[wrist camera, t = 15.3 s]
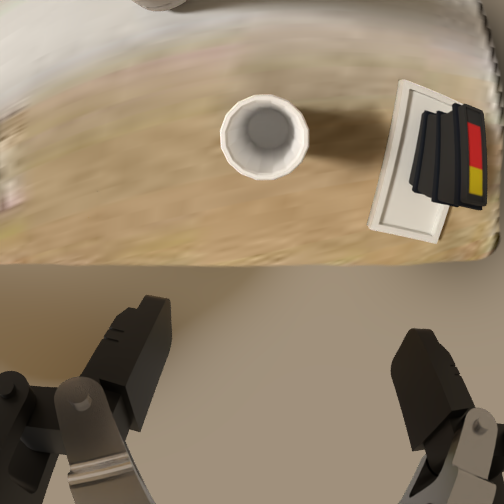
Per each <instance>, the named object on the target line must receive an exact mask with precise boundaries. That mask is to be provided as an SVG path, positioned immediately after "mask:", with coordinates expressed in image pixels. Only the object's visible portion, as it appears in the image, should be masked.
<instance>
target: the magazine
mask: <svg viewBox="0 0 504 504" xmlns="http://www.w3.org/2000/svg"><path fill="white" fill-rule="evenodd" d="M409 184H411V185H412V186H413V187H412V191H413V192H414V193H418V194H423V195H425V196H427V197H429V198H431V202H434V203H439V204H444V205H449V206H454V207H458V206H462V207H466V208H471V209H475V210H482V206H486V204H487V148H486V133H485V122H484V113H483V111H482V110H480V109H477V108H475V107H472V106H470V105H467V104H463V105H460V104H457V103H454V104H452V111H450V112H449V113H445V112H442V111H436V113H433V112H430V111H426V110H424V112H423V113H422V115H421V122H420V128H419V133H418V139H417V144H416V150H415V155H414V159H413V164H412V169H411V173H410V178H409Z"/></svg>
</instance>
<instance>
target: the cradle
mask: <svg viewBox="0 0 504 504" xmlns="http://www.w3.org/2000/svg"><path fill="white" fill-rule="evenodd" d="M454 103H457V104H460V105H463V104H462V103H460V102H458V101H456V100H454V99H451V98H449V97H447V96H445V95H442V94H440V93H438V92H435V91H433V90H431V89H428V88H426V87H423V86H421V85H418V84H415V83H413V82H410V81H407V80H405V79H403V80H399V82H398V89H397V95H396V100H395V106H394V112H393V117H392V122H391V127H390V132H389V137H388V142H387V146H386V151H385V155H384V160H383V164H382V168H381V172H380V177H379V181H378V185H377V188H376V192H375V196H374V200H373V204H372V207H371V211H370V215H369V218H368V222H367V226H368V227H369V228H370V230H375V231H380V232H385V233H390V234H394V235H399V236H404V237H408V238H413V239H417V240H422V241H426V242H431V243H435V244H437V241H438V239H439V236H440V233H441V230H442V227H443V224H444V221H445V218H446V215H447V212H448V209H449V205H444V204H439V203H434V202H431V198H429V197H427V196H425V195H423V194H418V193H414V192H413V191H412V187H413V186H412V185H411V184H409V178H410V173H411V169H412V164H413V159H414V155H415V150H416V144H417V139H418V133H419V128H420V122H421V115H422V113H423V112H424V110H426V111H430V112H433V113H436V111H442V112H445V113H449V112H450V111H452V104H454Z"/></svg>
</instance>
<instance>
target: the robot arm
mask: <svg viewBox="0 0 504 504" xmlns="http://www.w3.org/2000/svg"><path fill="white" fill-rule="evenodd" d="M132 1H133V2H135V3H137V4H138V5H140V6H141V7H143V8H145V9H147V10H151V11H165V10H169V9H172V8H175V7H177V6H179V5H181V4H182V3H184V2H185V1H187V0H132ZM171 342H172V326H171V305H170V300H169V299H167V298H162V297H156V296H151V295H146V296H145V297H144V298H143V300H142V302H141V303H140V305H139V307H138V308H137V309H135V308H127V309H126V310H124V311H123V312H122V313H120V314H119V315H118V316H116V318H115V319H114V321H113V323H112V324H111V326H110V328H109V330H108V331H107V332H106V334H105V335H104V339H102V340H101V342H100V344H99V345H98V347H97V349H96V350H95V352H94V354H93V355H92V357H91V359H90V360H89V362H88V364H87V366H86V367H85V369H84V371H83V372H82V374H81V375H80V376H79V377H74V378H71V379H68V380H66V381H65V382H63V383H62V384H61V385H60V386H59V387H58V388H57V387H54V388H53V387H40V386H30V385H29V383H28V382H27V380H26V378H25V377H24V376H23V375H22V374H20V373H18V372H15V371H7V372H3V373H1V374H0V504H42V502H43V499H44V496H45V493H46V490H47V487H48V484H49V481H50V478H51V475H52V472H53V469H54V467H55V464H56V461H57V458H58V456H59V454H63V455H67V458H68V461H69V465H70V472H69V473H68V483H69V486H70V489H71V493H72V495H73V498H74V501H75V504H156V503H155V502H154V500H153V498H152V497H151V495H150V493H149V491H148V489H147V487H146V485H145V483H144V481H143V479H142V477H141V475H140V473H139V471H138V469H137V467H136V464H135V462H134V460H133V458H132V456H131V454H130V451H129V449H128V447H127V444H126V442H125V440H126V437H127V434H128V432H129V429H131V430H134V431H138V432H140V431H141V429H142V426H143V423H144V420H145V417H146V414H147V411H148V408H149V406H150V403H151V400H152V397H153V394H154V392H155V389H156V386H157V384H158V381H159V378H160V375H161V373H162V370H163V367H164V365H165V362H166V359H167V357H168V354H169V351H170V347H171ZM459 374H460V373H459V371H458V369H457V367H455V363H454V361H453V359H452V357H451V355H450V353H449V352H448V351H447V350H446V349H445V348H444V347H443V346H442V345H441V344H439V342H438V340H437V338H436V336H435V335H434V333H433V331H432V330H430V329H415V328H413V329H410V330H409V331H408V333H407V334H406V336H405V338H404V340H403V342H402V344H401V346H400V348H399V350H398V351H397V353H396V355H395V357H394V359H393V361H392V365H391V377H392V380H393V383H394V386H395V389H396V393H397V396H398V400H399V403H400V407H401V410H402V413H403V417H404V421H405V425H406V428H407V432H408V436H409V440H410V444H411V448H412V451H418V450H424V449H425V451H426V454H425V455H424V456H423V458H422V459H421V461H420V463H419V465H418V467H417V470H416V472H415V474H414V476H413V478H412V480H411V482H410V484H409V486H408V488H407V490H406V492H405V493H404V495H403V497H402V499H401V501H400V502H399V503H398V504H504V481H503V477H502V472H504V424H497V423H496V421H495V419H494V417H493V416H492V415H491V414H490V413H489V412H488V411H486V410H485V409H482V408H475V405H474V403H473V401H472V399H471V396H470V394H469V392H468V390H467V388H466V385H465V383H464V381H463V379H462V377H461V376H460V375H459Z"/></svg>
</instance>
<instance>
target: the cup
mask: <svg viewBox="0 0 504 504" xmlns="http://www.w3.org/2000/svg"><path fill="white" fill-rule="evenodd" d="M220 139H221V149H222V151H223V153H224V155H225V157H226V159H227V161H228V163H229V164H230V165H231V166H233V167H234V168H235V169H236V170H237V171H238V172H239V173H240V174H242V175H245V176H247V177H250V178H253V179H255V180H276V179H278V178H280V177H283V176H285V175H288V174H290V173H291V172H292V171H293V170H294V169H296V168H297V167H298V166H299V165H300V164H301V163H302V162H303V159H304V157H305V155H306V152H307V150H308V148H309V128H308V125H307V123H306V121H305V118H304V116H303V114H302V113H301V112H300V111H299V110H298V109H297V108H296V107H295V106H294V105H293V104H292V103H291V102H290V101H288V100H286V99H283V98H281V97H278V96H275V95H273V94H267V95H253V96H250V97H248V98H246V99H244V100H241V101H239V102H237V103H236V105H235V106H234V107H233V108H232V109H231V110H230V111H229V112H228V113H227V114H226V116H225V119H224V121H223V124H222V127H221V129H220Z"/></svg>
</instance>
